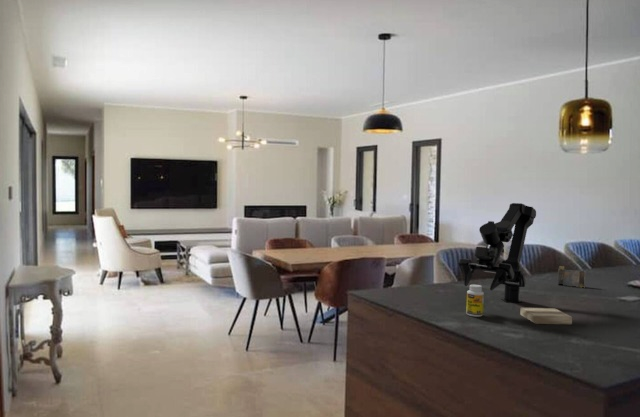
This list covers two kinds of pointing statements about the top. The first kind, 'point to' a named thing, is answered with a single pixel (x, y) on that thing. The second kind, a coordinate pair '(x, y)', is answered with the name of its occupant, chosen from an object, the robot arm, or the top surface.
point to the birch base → (545, 316)
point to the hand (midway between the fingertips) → (477, 287)
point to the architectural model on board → (571, 277)
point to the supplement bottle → (475, 301)
